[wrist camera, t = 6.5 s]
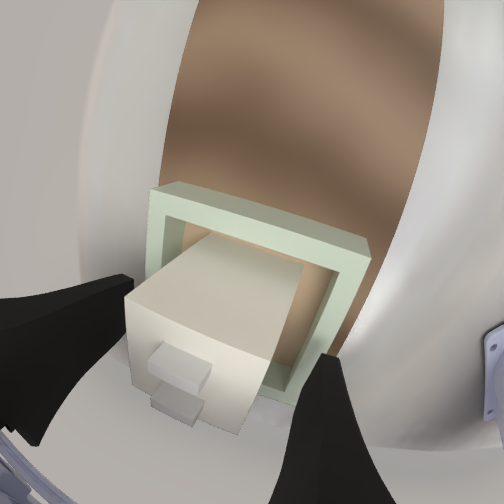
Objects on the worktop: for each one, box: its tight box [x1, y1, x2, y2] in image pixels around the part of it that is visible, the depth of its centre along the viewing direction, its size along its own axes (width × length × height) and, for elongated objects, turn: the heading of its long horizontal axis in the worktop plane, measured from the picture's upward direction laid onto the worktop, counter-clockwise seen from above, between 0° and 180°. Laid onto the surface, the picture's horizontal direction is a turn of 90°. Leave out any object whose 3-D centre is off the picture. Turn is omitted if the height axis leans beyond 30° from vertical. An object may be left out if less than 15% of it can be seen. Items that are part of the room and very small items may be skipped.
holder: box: [145, 181, 371, 406], centre depth 12 cm, size 8×8×2 cm
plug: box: [124, 232, 304, 435], centre depth 9 cm, size 4×4×6 cm
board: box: [159, 0, 444, 357], centre depth 11 cm, size 20×10×1 cm, turn 167°
